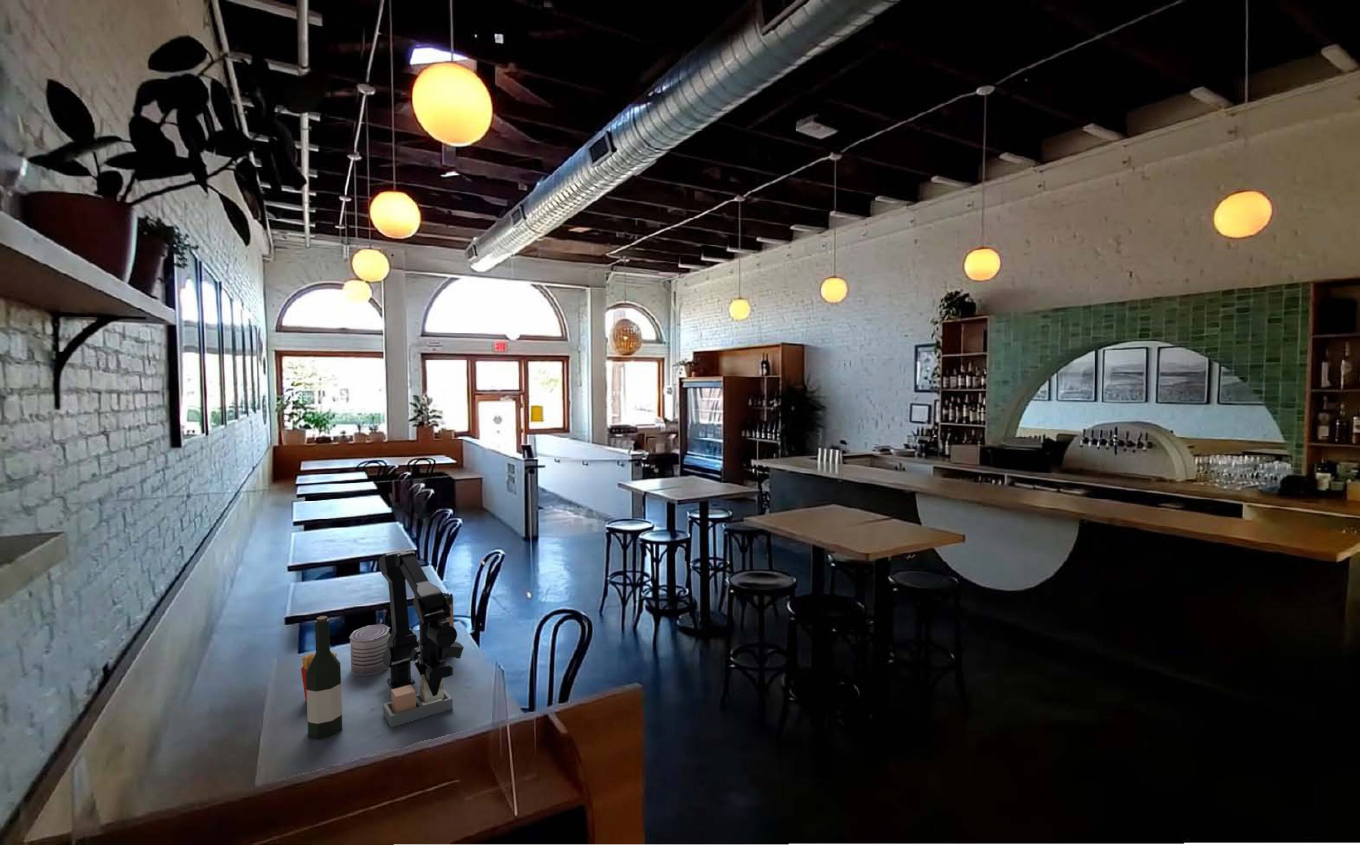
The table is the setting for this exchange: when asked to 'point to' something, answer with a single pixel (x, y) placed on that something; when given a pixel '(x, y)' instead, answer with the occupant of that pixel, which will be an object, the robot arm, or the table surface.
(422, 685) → the ivory block
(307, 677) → the wine bottle
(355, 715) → the table surface
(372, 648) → the can
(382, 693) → the table surface
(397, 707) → the terracotta block
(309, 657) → the french fries
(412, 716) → the pocket frame
